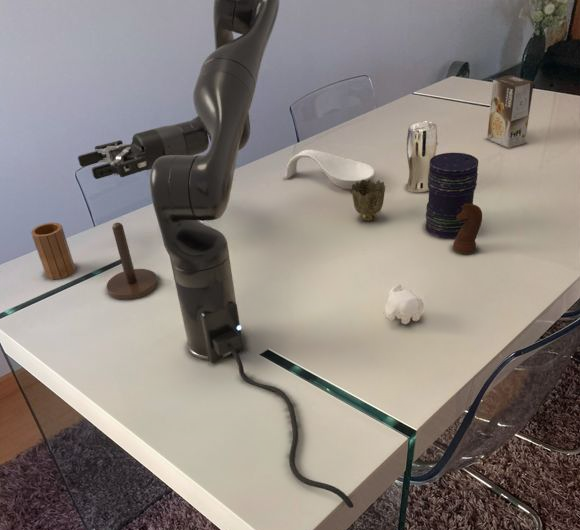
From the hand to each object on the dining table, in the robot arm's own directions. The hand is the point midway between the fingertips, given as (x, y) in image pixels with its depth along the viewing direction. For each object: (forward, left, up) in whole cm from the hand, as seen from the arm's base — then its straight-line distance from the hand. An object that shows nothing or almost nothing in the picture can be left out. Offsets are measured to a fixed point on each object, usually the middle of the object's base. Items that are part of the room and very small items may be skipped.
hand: (86, 167), depth 128 cm
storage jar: (-39, -63, -20) cm, 77 cm away
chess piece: (-48, -59, -20) cm, 79 cm away
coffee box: (-12, -111, -20) cm, 113 cm away
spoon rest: (-1, -59, -20) cm, 62 cm away
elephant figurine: (-59, -33, -20) cm, 70 cm away
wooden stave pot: (0, +11, -20) cm, 23 cm away
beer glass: (-19, -73, -20) cm, 78 cm away
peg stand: (-16, +1, -20) cm, 25 cm away
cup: (-24, -53, -20) cm, 61 cm away
